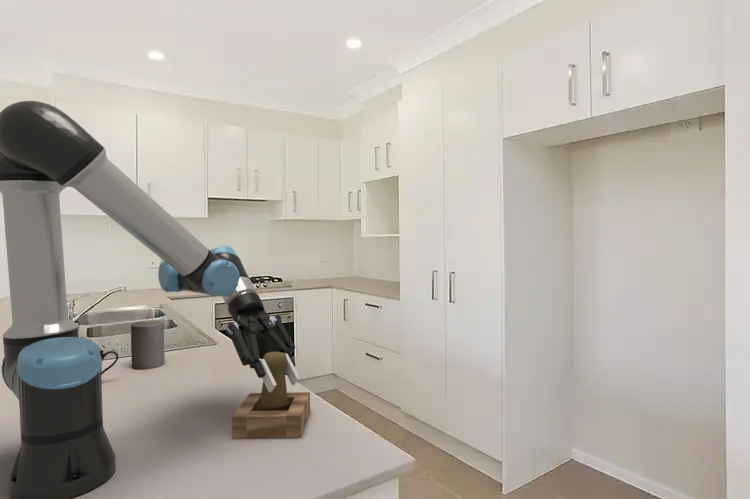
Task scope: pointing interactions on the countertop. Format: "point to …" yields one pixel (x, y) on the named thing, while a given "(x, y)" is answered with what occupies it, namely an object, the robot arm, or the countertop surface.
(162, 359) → the pillar candle
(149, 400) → the countertop surface
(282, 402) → the cork
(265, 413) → the socket block
